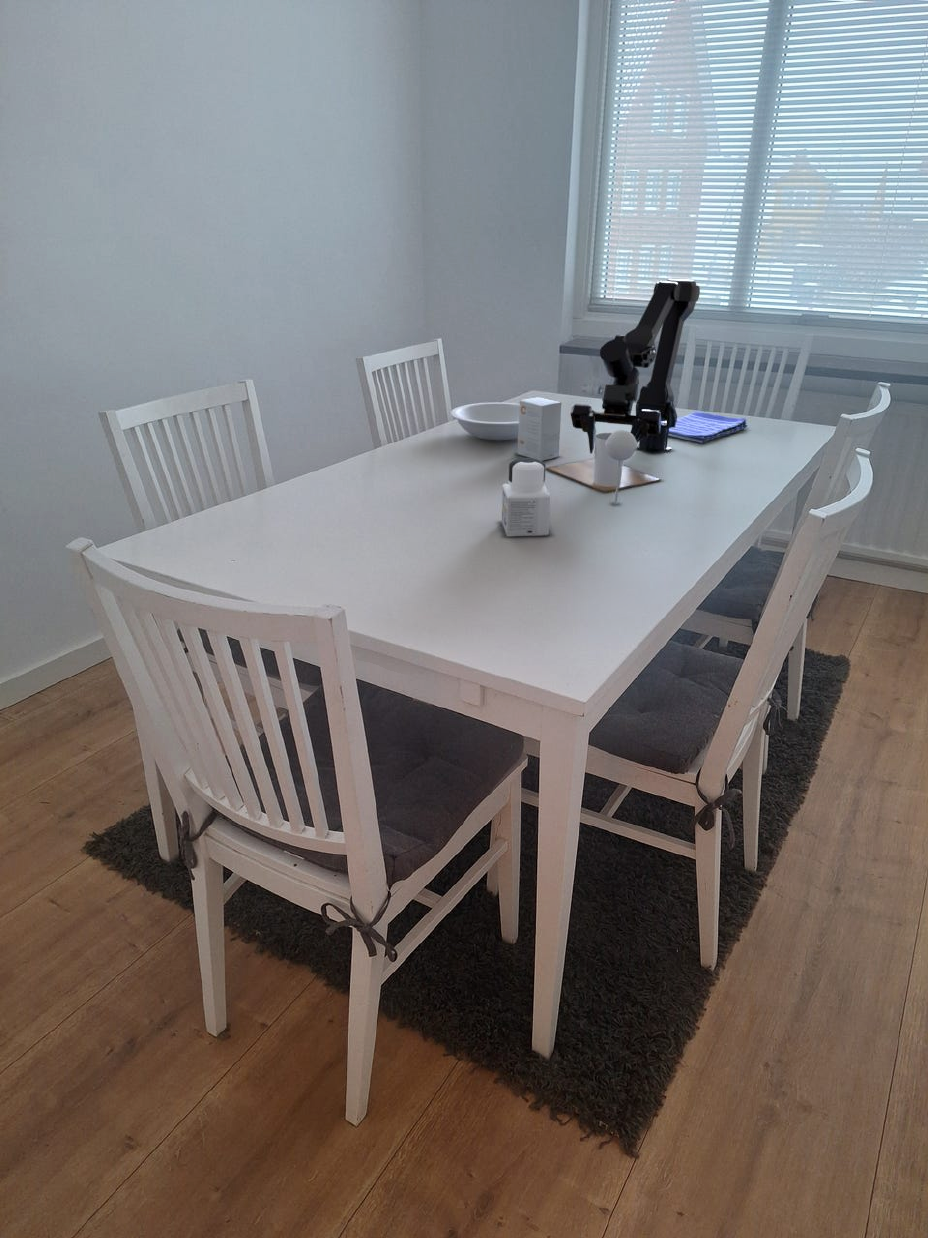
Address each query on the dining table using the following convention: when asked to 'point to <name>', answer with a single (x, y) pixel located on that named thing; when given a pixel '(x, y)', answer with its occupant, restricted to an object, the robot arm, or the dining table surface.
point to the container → (526, 499)
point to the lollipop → (620, 449)
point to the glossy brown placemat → (585, 475)
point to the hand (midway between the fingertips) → (607, 454)
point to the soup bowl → (489, 420)
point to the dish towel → (705, 427)
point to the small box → (539, 428)
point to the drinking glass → (605, 463)
